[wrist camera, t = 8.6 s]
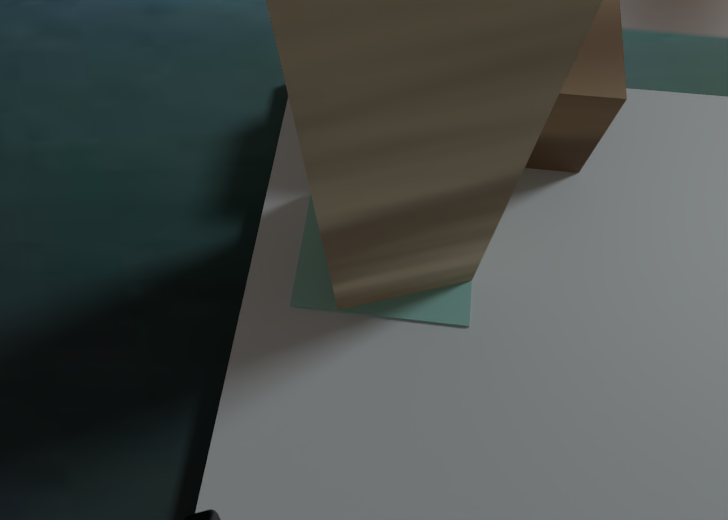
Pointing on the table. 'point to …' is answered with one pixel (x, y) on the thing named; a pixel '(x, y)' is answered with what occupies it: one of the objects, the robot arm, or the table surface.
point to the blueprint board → (499, 351)
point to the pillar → (419, 126)
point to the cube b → (585, 97)
